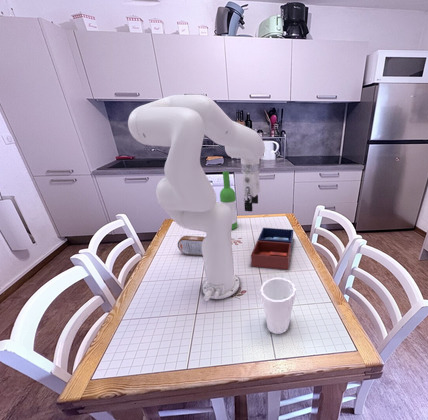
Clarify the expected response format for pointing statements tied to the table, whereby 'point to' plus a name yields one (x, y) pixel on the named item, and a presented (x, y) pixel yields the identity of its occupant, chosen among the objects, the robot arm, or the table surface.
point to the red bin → (271, 261)
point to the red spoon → (274, 254)
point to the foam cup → (278, 303)
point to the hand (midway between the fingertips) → (251, 207)
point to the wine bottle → (229, 198)
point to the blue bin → (276, 235)
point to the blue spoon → (278, 238)
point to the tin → (191, 245)
